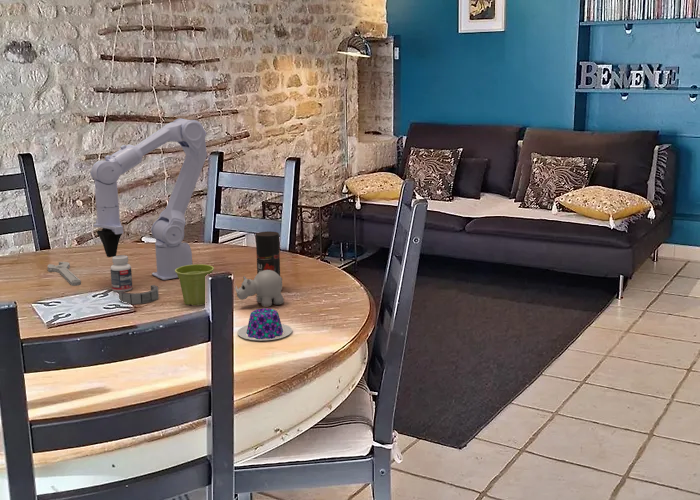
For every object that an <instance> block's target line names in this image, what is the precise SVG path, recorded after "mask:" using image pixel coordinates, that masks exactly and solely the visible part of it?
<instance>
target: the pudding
mask: <svg viewBox="0 0 700 500" xmlns="http://www.w3.org/2000/svg"><path fill="white" fill-rule="evenodd" d="M292 332H293V328H292V327H291V326H289V325H287V324H285V323H282V322H281V318H280V315H279V312H278V311H277V310H276V309H273V308H268V307H267V308H266V307H263V308H258V309H255V310H253V311H251V312H250V315H249V318H248V324H247V325H244V326H243V327H240V328H239V329H238V330H237V335H238V336H240V338H242V339H245V340H251V341H262V342H263V341H272V340H280V339H283V338H285V337H287V336H289V335H291V334H292Z"/></svg>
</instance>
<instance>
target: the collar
mask: <svg viewBox="0 0 700 500" xmlns="http://www.w3.org/2000/svg"><path fill="white" fill-rule="evenodd" d="M117 293H118V300H119V299H120V300H121V301H123V302H127V303H129V304H128V305H142V304H149V303H153V302H154V301H156V300H158V299H159V297H160V296H159V287H158V286H157V285H155V284H153V285H150V290H149V291H144V292H131V293H130V292H126V291H125V292H124V291H118V292H117Z"/></svg>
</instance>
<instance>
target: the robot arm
mask: <svg viewBox="0 0 700 500" xmlns="http://www.w3.org/2000/svg"><path fill="white" fill-rule="evenodd" d="M206 137H207V132H206V129H205V128H204V126H203V124H202V123H201V122H200V121H199V120H196V119H186V118H180V117H179V118H177V119H176V118H175V120H173V121H171V122H168V123H166V124H164V126H162V127H161V128H159V129H157V130H156V131H155V132H154V133H152V134H150V135H149V136H148V137H145V138H144V139H143V140H141V141H140V142H139V143H137V144H136V145H133V144H130V143H129V144H127V145H126V144H122V145H121V146H119V149H118V150H117V151H115V152H114V153H112V154H110V155H108V154H107V155H105V156H104V158H105V160H104V159H103V160H101V159H100V160H98V161H96V162H94V164H93V165H92V167H91V170H90V172H89V173H90V176H91V178H92V179H93V180H94V196H95V207H96V219H95V223H93V224H92V226H93V227H94V228H101V229H100V230H96V234H97V235H98V238H100V240H101V243H102V246H103V250H104V252H105V255H106V257H107V258H112V257H114V256H117V252H118V246H119V243H120V239H121V237H122V235H123V234H124V226H123V225H122V222H121V218H120V206H119V204H120V203H119V192H118V180H119V179H120V176H122V175H124V174H125V173H127V172H128V171H130V170H131V169H133V168H135V167H136V166H138V165H139V164H141V163H142V161H143V157H144V156H145V155H147V154H149V153H150V152H152V151H154V150H156V149H158V148H159V147H161V146H163V145H165V144H167V143H170V142H172V143H174V142H176V143H178V144H179V145H180V146H181V149H182V151H183V152H184V154H185V157H184V160H183V163H182V166H181V169H180V171H179V173H178V175H177V179H176V181H175V184H174V186H173V189H172V192H171V194H170V196H169V200H168V201H167V205H166V207H165V209H163V210H162V211H161V212H160V214H159V215H158V218H157V219H156V220H155V221H154V222H153V224H152V226H151V230H150V231H151V235H152V237H153V238H154V239H155V243H154V249H155V261H156V262H155V263H156V271H155V272H152V273H151V276H154V277H155V278H158V279H161V280H162V281H166V280H167V281H168V280H171V279H179V278H178V275H177V273H176V272H175V269H177V268H179V267H182V266H186V265H193V253H192V248H191V246H190V244H189V243H188V242H183V240H184V238H185V226H186V217H185V213H186V212H187V209H188V207H189V203H190V201H191V198H192V196H193V193H194V190H195V188H196V186H197V183H198V181H199V177H200V175H201V173H202V169H203V167H204V165H205V162H206V159H207V155H208V154H207V153H208V151H207V143H206Z"/></svg>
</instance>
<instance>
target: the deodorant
mask: <svg viewBox="0 0 700 500" xmlns="http://www.w3.org/2000/svg"><path fill="white" fill-rule="evenodd" d="M255 247H256V248H255V250H256V271H257V274H258V273H259V272H261V271H264V270H272V271H274V272H276V273H277V274H278V275H279V276H280V277H281V260H280V259H281V258H280V254H281V253H280V233H279V232H276V231H268V230H267V231H260V232H257V233H255ZM257 274H256V275H257Z"/></svg>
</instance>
